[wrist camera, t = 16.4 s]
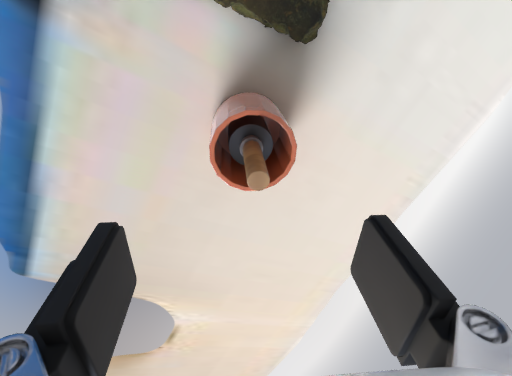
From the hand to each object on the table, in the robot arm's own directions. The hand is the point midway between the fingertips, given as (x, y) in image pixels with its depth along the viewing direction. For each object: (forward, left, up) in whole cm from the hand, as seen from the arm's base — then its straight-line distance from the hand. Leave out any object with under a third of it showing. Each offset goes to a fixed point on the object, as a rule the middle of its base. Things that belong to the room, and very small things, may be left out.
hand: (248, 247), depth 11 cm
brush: (-2, +4, -26) cm, 26 cm away
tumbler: (-2, +4, -26) cm, 27 cm away
